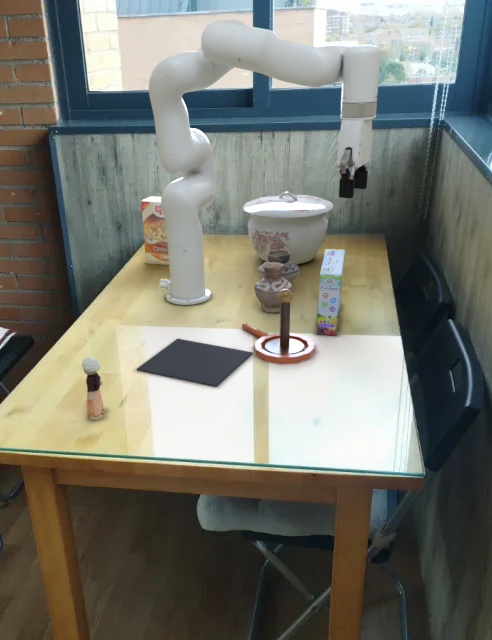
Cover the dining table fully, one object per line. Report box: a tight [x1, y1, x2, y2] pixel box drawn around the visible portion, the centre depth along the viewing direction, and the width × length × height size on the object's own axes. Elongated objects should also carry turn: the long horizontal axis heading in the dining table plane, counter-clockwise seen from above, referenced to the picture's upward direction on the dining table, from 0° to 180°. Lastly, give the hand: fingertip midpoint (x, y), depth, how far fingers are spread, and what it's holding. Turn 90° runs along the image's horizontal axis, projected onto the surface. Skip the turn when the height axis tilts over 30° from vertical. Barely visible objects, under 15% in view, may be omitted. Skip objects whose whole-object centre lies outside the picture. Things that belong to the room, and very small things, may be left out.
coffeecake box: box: [140, 195, 169, 266], centre depth 215 cm, size 15×7×20 cm, turn 67°
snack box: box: [315, 248, 346, 336], centre depth 171 cm, size 21×6×15 cm, turn 168°
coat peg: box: [264, 289, 305, 355], centre depth 156 cm, size 9×9×15 cm
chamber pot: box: [242, 191, 335, 266], centre depth 213 cm, size 28×28×21 cm
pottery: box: [253, 250, 300, 314], centre depth 185 cm, size 11×25×12 cm, turn 170°
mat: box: [136, 338, 253, 388], centre depth 156 cm, size 20×18×1 cm
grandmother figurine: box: [81, 355, 106, 421], centre depth 134 cm, size 8×4×13 cm, turn 5°
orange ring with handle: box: [241, 322, 316, 365], centre depth 163 cm, size 24×14×2 cm, turn 32°
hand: (352, 192), depth 157 cm, fingers open, 9 cm apart
